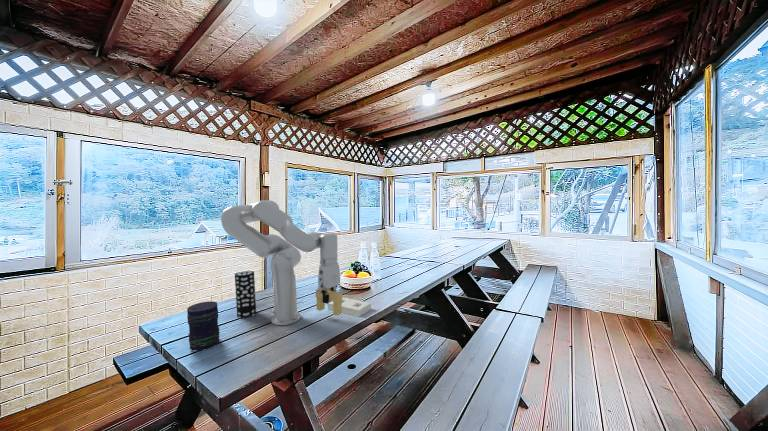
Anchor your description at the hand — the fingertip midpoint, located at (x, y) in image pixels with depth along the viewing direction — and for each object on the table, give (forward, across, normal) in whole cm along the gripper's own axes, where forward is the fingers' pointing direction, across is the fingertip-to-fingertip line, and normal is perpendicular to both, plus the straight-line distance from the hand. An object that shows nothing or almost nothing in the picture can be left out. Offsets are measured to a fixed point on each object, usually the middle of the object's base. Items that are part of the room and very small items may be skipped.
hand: (328, 301), depth 127 cm
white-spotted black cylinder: (+10, -14, +39) cm, 43 cm away
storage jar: (+10, -39, +27) cm, 49 cm away
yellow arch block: (+5, 0, 0) cm, 5 cm away
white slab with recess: (+8, +14, -1) cm, 16 cm away
